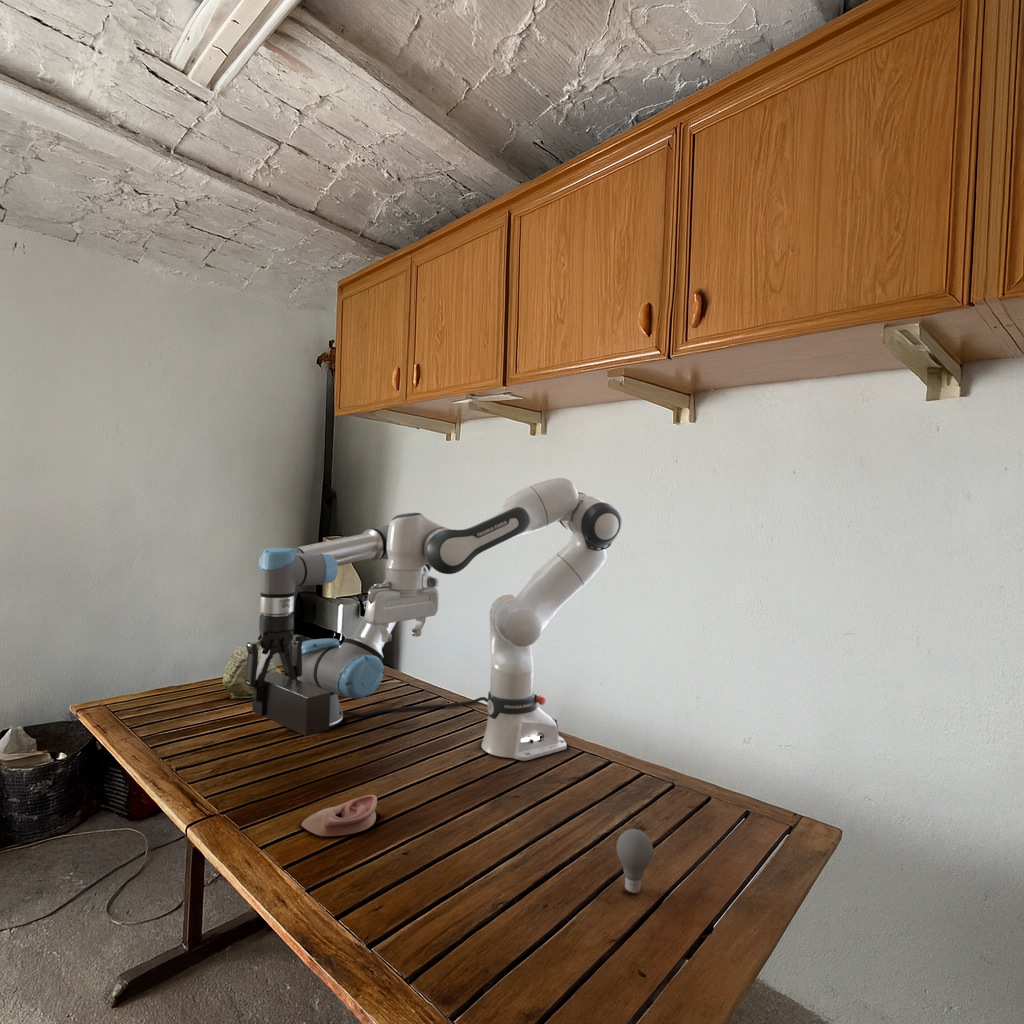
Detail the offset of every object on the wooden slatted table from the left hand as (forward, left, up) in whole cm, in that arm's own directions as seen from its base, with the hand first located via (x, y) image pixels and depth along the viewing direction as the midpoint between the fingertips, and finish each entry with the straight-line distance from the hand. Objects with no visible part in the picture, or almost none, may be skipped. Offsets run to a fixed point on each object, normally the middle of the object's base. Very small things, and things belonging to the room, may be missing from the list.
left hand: (273, 710), depth 150 cm
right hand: (-19, +22, +18) cm, 35 cm away
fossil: (-23, -48, -12) cm, 55 cm away
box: (0, +7, 0) cm, 7 cm away
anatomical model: (+6, +35, -12) cm, 38 cm away
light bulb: (-14, +88, -12) cm, 90 cm away
